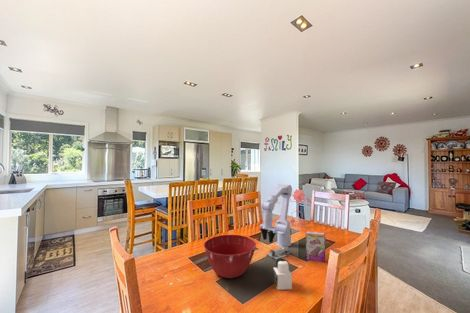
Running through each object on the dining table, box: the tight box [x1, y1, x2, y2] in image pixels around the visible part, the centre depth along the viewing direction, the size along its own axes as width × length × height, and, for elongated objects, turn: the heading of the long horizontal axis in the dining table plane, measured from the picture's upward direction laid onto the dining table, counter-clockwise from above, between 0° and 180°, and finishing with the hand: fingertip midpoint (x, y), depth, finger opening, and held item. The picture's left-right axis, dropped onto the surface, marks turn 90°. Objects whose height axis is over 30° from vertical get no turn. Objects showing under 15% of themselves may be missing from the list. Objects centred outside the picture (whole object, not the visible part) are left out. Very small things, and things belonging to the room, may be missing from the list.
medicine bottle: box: [272, 258, 293, 291], centre depth 101 cm, size 7×7×12 cm
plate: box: [266, 253, 289, 261], centre depth 133 cm, size 10×9×1 cm
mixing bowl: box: [203, 234, 257, 279], centre depth 114 cm, size 28×28×16 cm
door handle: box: [269, 246, 289, 256], centre depth 134 cm, size 14×4×3 cm, turn 120°
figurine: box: [289, 188, 312, 227], centre depth 204 cm, size 15×26×35 cm, turn 51°
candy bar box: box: [305, 231, 326, 263], centre depth 129 cm, size 11×5×16 cm, turn 71°
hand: (267, 240), depth 137 cm, fingers open, 6 cm apart
